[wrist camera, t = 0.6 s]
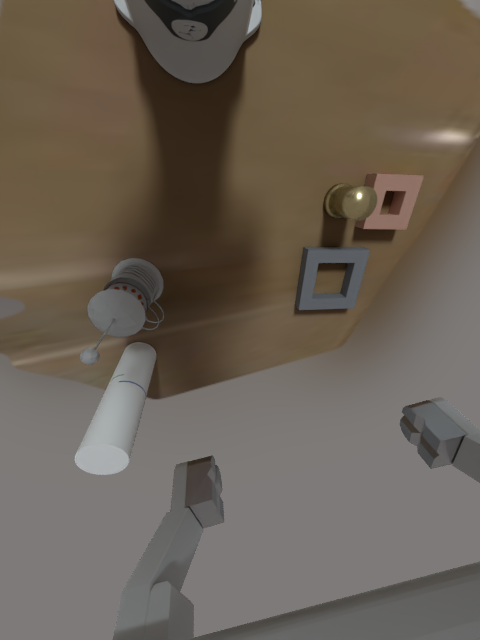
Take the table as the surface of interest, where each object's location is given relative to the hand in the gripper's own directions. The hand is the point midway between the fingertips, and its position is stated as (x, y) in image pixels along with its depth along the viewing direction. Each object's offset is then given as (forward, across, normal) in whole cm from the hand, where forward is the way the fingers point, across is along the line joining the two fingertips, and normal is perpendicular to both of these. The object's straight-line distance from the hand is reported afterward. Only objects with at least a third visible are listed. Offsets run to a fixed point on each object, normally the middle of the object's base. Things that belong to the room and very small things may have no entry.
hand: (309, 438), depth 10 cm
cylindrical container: (+42, +25, +21) cm, 54 cm away
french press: (+43, +18, +5) cm, 47 cm away
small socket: (+42, -31, 0) cm, 53 cm away
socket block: (+42, -20, +13) cm, 49 cm away
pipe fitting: (+42, -22, -2) cm, 48 cm away
